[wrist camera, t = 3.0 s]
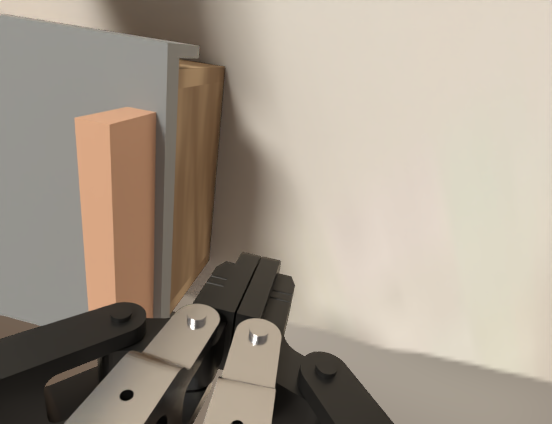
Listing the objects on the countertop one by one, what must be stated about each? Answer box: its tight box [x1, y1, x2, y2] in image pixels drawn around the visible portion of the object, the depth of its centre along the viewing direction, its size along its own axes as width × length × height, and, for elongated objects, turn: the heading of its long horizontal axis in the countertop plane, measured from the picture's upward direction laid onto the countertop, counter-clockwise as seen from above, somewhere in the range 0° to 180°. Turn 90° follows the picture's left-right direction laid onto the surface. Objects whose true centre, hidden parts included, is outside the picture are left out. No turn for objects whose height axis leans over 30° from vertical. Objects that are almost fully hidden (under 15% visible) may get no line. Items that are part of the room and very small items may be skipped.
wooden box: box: [170, 59, 225, 314], centre depth 22 cm, size 18×13×7 cm
